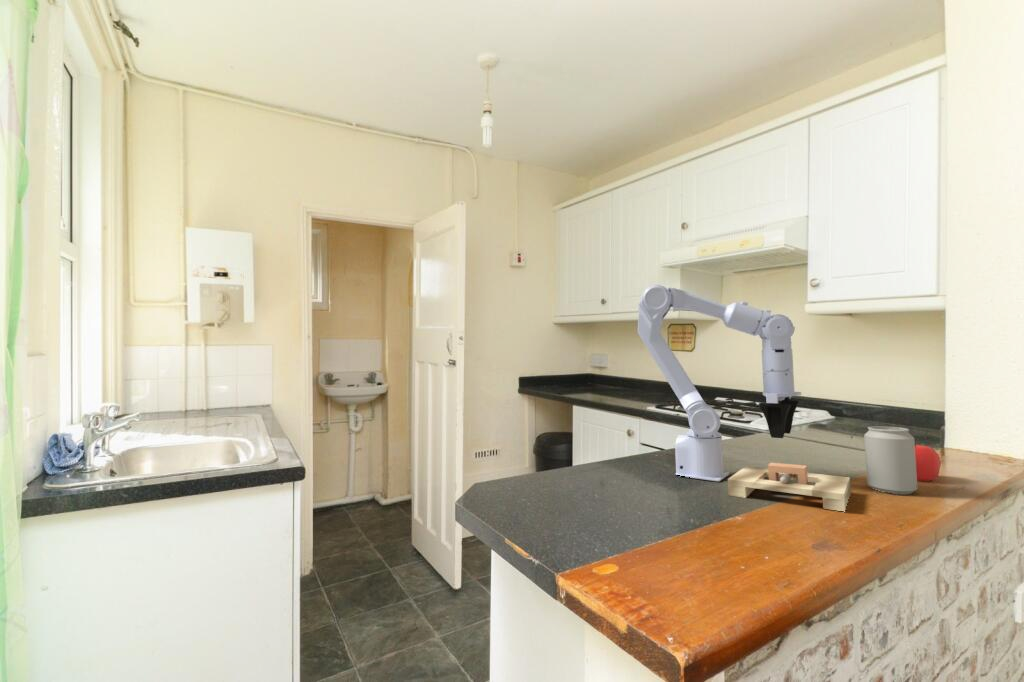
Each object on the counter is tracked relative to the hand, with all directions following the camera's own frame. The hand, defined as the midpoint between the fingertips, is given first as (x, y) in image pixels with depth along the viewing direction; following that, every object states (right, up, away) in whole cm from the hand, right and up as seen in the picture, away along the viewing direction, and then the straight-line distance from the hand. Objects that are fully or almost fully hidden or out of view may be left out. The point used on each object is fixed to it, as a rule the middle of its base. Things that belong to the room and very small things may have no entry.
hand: (781, 435), depth 99 cm
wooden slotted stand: (-5, -9, -11) cm, 15 cm away
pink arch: (-5, -8, -11) cm, 14 cm away
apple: (+28, -9, -1) cm, 29 cm away
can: (+16, -9, -9) cm, 20 cm away
